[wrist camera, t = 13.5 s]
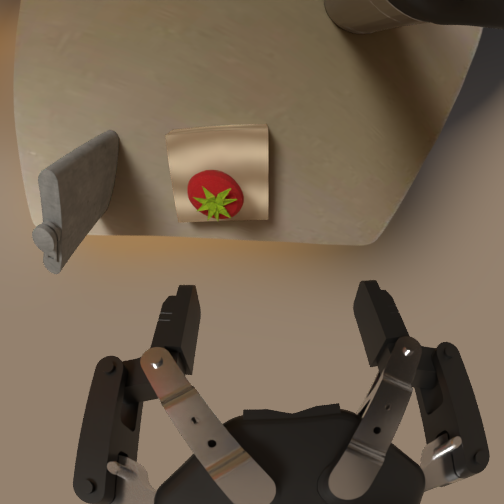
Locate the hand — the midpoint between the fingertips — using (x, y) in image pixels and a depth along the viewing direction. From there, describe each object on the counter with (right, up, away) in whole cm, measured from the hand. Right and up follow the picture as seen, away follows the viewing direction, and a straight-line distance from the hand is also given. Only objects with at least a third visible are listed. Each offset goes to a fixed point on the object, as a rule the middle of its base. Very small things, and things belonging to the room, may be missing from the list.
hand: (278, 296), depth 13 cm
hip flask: (-26, +15, +29) cm, 42 cm away
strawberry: (-6, +13, +26) cm, 29 cm away
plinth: (-6, +15, +29) cm, 33 cm away
